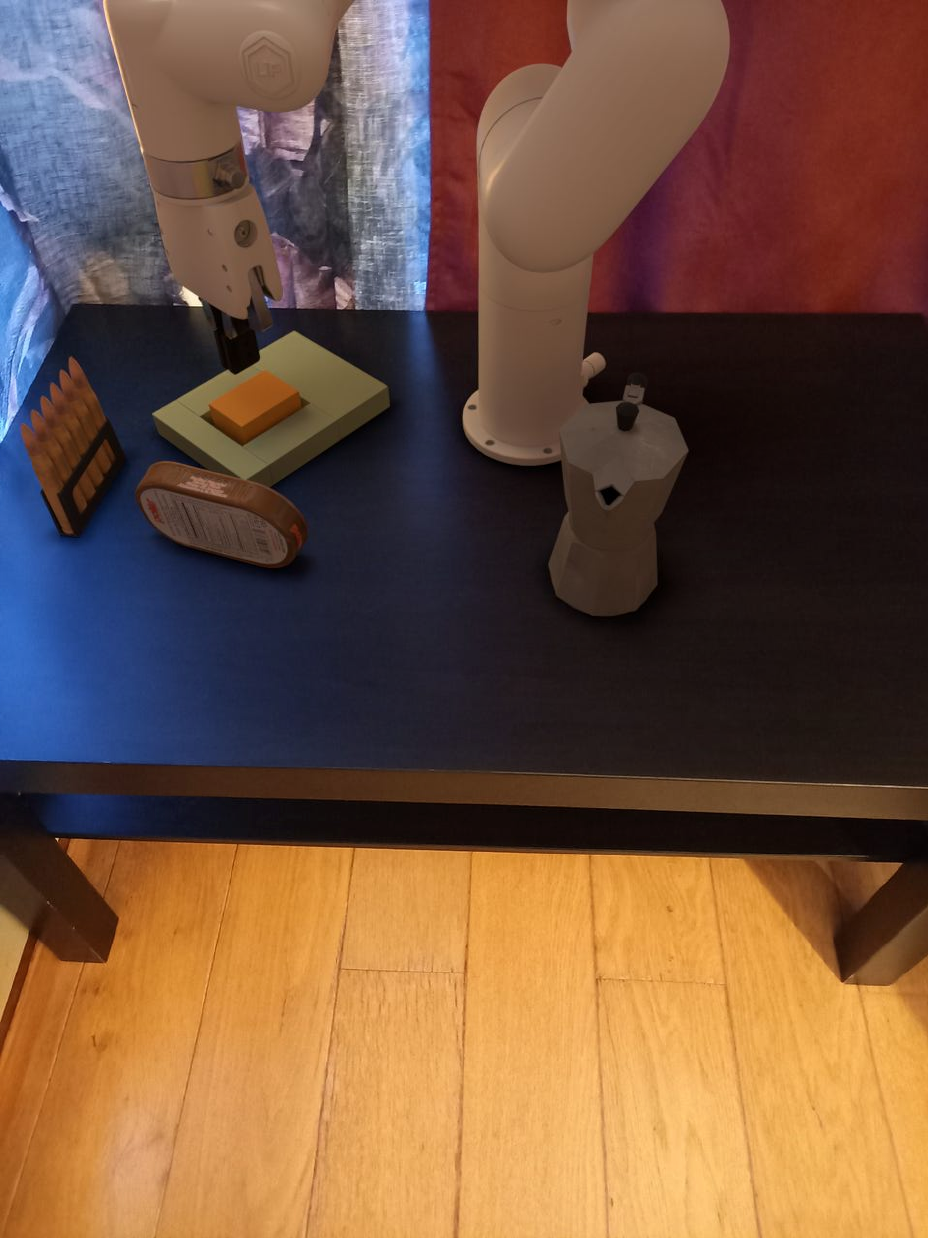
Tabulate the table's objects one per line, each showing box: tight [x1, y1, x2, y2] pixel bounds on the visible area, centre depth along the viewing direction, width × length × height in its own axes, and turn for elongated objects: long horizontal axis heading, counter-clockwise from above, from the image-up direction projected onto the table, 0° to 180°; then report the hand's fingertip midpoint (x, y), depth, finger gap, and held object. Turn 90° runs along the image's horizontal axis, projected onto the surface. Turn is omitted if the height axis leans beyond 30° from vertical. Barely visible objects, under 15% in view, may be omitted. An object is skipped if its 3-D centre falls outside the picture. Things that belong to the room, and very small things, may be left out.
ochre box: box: [209, 370, 302, 447], centre depth 90 cm, size 7×5×4 cm
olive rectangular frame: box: [151, 330, 391, 488], centre depth 92 cm, size 18×14×2 cm
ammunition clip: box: [20, 356, 127, 538], centre depth 82 cm, size 11×2×12 cm, turn 170°
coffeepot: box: [547, 372, 689, 617], centre depth 73 cm, size 15×9×18 cm, turn 165°
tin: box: [134, 460, 309, 569], centre depth 79 cm, size 15×3×8 cm, turn 71°
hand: (241, 364), depth 86 cm, fingers closed
